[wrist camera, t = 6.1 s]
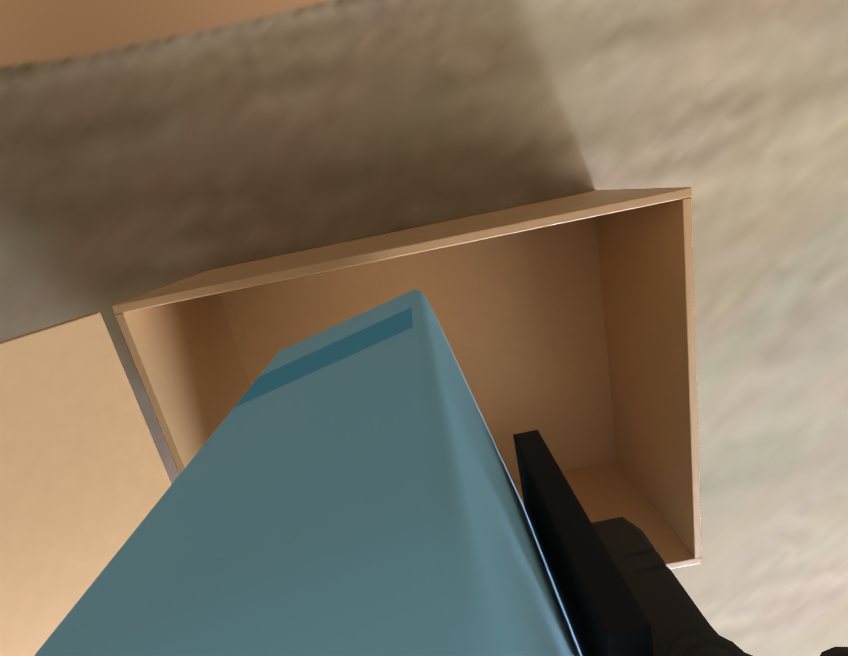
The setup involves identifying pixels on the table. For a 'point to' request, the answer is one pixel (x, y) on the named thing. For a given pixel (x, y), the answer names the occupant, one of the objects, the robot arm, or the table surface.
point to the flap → (66, 473)
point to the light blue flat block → (335, 520)
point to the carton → (482, 339)
